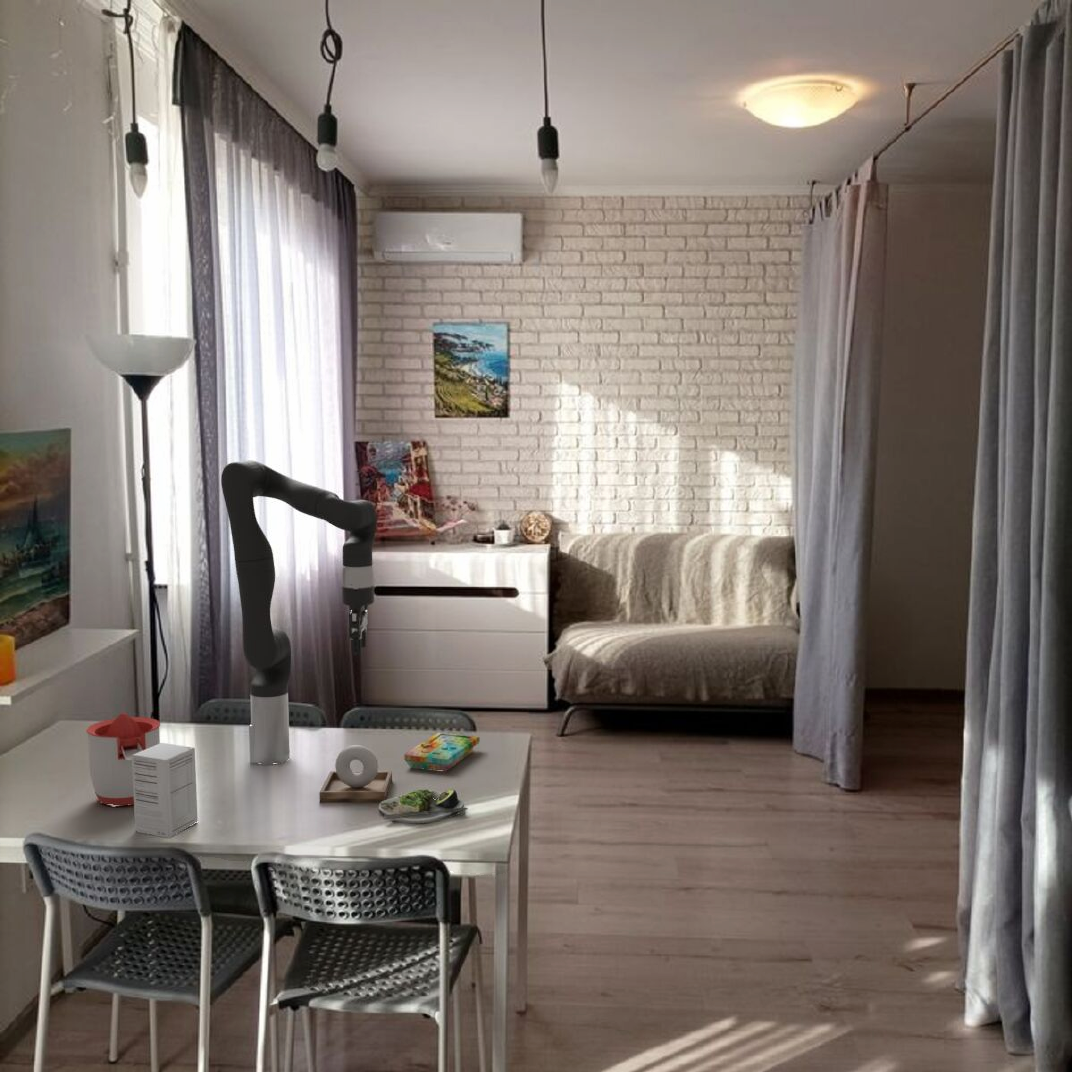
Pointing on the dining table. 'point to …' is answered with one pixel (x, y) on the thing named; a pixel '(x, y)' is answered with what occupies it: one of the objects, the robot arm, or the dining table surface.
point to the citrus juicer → (118, 755)
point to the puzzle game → (440, 751)
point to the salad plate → (422, 806)
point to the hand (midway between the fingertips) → (359, 650)
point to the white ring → (367, 760)
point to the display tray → (356, 789)
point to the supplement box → (164, 789)
